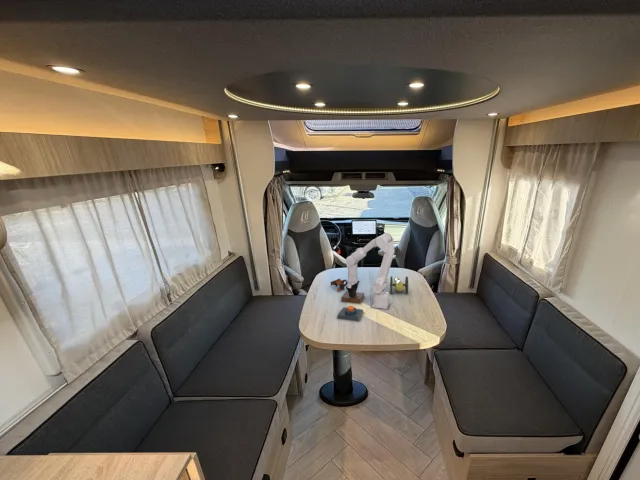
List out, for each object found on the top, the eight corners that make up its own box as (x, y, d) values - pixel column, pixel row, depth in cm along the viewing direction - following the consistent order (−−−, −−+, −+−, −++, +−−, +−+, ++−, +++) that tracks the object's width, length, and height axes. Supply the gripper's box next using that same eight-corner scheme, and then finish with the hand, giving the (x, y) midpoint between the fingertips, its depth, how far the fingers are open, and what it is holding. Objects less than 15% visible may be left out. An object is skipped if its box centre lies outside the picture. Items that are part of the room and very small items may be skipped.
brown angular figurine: (334, 293, 205) (329, 282, 205) (332, 294, 214) (328, 283, 214) (351, 286, 208) (346, 275, 208) (348, 287, 217) (343, 276, 218)
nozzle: (354, 309, 175) (354, 306, 175) (352, 311, 172) (352, 309, 172) (348, 308, 176) (348, 305, 176) (346, 311, 173) (346, 308, 172)
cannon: (388, 282, 222) (388, 267, 218) (404, 282, 222) (405, 267, 218) (390, 297, 199) (390, 280, 195) (408, 297, 199) (409, 280, 195)
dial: (350, 293, 197) (350, 287, 196) (356, 294, 196) (356, 288, 195) (349, 295, 193) (348, 290, 192) (355, 296, 192) (355, 290, 191)
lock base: (364, 297, 199) (364, 292, 198) (360, 303, 190) (360, 299, 189) (346, 295, 202) (346, 290, 201) (341, 301, 193) (341, 297, 192)
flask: (363, 312, 179) (363, 306, 177) (358, 321, 170) (358, 314, 168) (343, 310, 181) (343, 304, 180) (337, 318, 172) (337, 312, 171)
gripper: (349, 269, 197) (350, 289, 202) (342, 277, 184) (343, 298, 189) (360, 270, 196) (360, 290, 200) (354, 278, 182) (354, 299, 187)
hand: (352, 294), depth 194 cm, fingers open, 7 cm apart
